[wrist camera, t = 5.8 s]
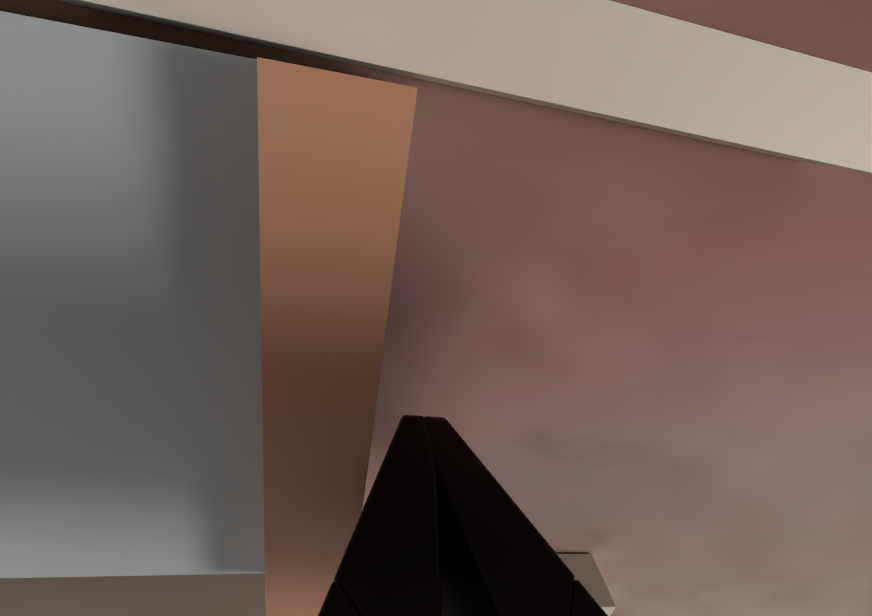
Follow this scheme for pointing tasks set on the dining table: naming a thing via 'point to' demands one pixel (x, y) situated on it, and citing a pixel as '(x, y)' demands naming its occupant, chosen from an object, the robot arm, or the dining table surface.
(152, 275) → the orange and grey box
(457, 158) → the dining table surface
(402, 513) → the robot arm
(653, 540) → the dining table surface
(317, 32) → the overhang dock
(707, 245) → the dining table surface
